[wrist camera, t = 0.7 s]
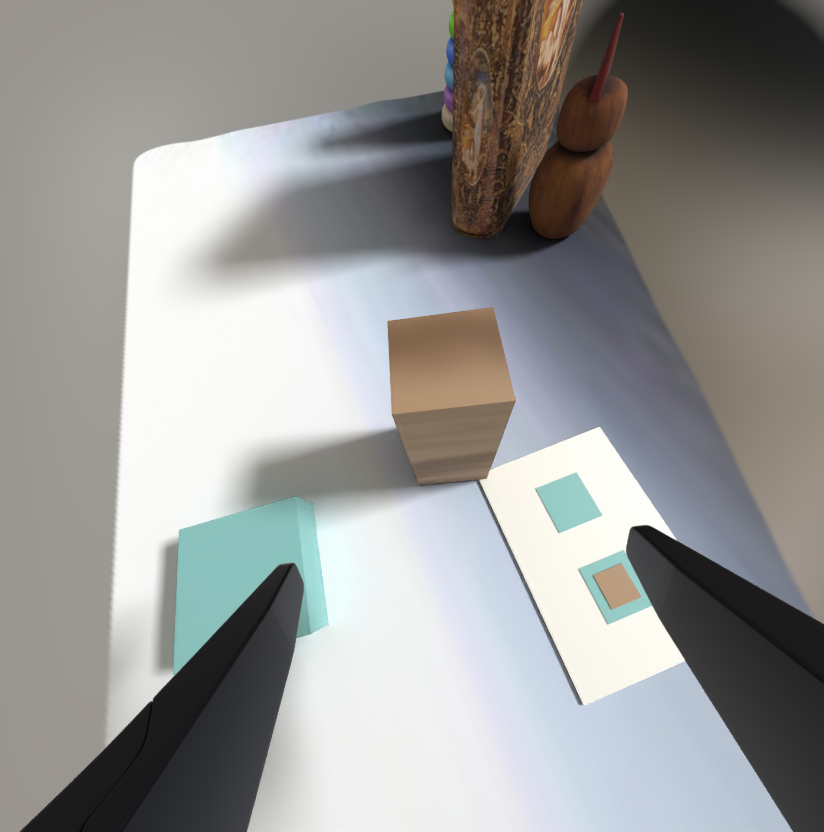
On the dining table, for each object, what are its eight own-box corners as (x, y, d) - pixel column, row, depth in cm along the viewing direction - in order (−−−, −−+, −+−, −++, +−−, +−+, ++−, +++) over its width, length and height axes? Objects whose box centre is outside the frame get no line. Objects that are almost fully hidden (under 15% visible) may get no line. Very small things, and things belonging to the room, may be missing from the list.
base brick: (328, 624, 21) (310, 633, 18) (208, 660, 21) (172, 675, 18) (312, 503, 24) (295, 495, 22) (209, 533, 24) (178, 529, 22)
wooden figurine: (559, 257, 32) (641, 31, 18) (511, 232, 34) (554, 14, 20) (598, 220, 34) (702, -13, 20) (551, 199, 36) (615, -26, 22)
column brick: (486, 478, 24) (515, 400, 13) (418, 485, 24) (391, 414, 13) (476, 417, 26) (493, 307, 15) (413, 424, 26) (387, 321, 16)
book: (494, 242, 34) (589, -413, 11) (446, 230, 35) (443, -369, 13) (546, 153, 39) (683, -415, 16) (502, 146, 40) (572, -384, 18)
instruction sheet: (739, 635, 19) (743, 636, 18) (582, 704, 18) (584, 706, 18) (598, 427, 25) (600, 426, 24) (476, 475, 24) (477, 474, 24)
